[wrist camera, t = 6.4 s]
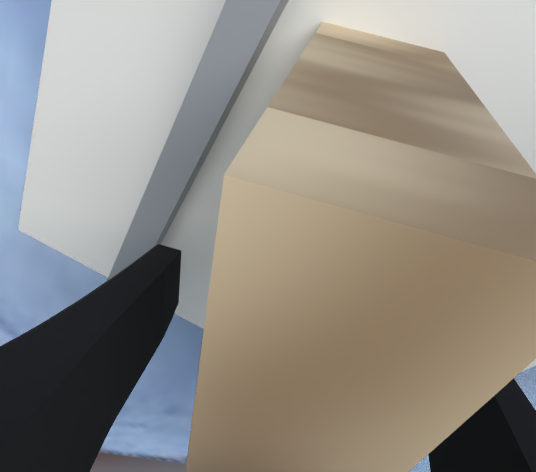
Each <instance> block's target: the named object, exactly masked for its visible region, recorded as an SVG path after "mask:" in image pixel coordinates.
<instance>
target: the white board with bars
mask: <svg viewBox="0 0 536 472" xmlns="http://www.w3.org/2000/svg"><path fill="white" fill-rule="evenodd" d="M322 22H326V23H330V24H334V25H338V26H342V27H346V28H350V29H354V30H358V31H362V32H366V33H370V34H374V35H378V36H382V37H386V38H390V39H393V40H397V41H401V42H405V43H409V44H413V45H417V46H421V47H425V48H429V49H433V50H437V51H441V52H444V53H445V54H446V55H447V57H448V58H449V59H450V61H451V62H452V63H453V65H454V66H455V67H456V69H457V70H458V71H459V73H460V74H461V75H462V77H463V78H464V79H465V80H466V82H467V83H468V84H469V86H470V87H471V88H472V90H473V91H474V92H475V94H476V95H477V96H478V98H479V99H480V100H481V102H482V103H483V104H484V106H485V107H486V108H487V110H488V111H489V112H490V114H491V115H492V116H493V118H494V119H495V120H496V122H497V123H498V124H499V126H500V127H501V128H502V130H503V131H504V132H505V134H506V135H507V136H508V138H509V139H510V140H511V142H512V143H513V144H514V146H515V147H516V148H517V149H518V151H519V152H520V153H521V155H522V156H523V157H524V159H525V160H526V161H527V163H528V164H529V165H530V167H531V168H532V169H533V171H534V172H535V173H536V0H52V2H51V9H50V16H49V23H48V30H47V36H46V43H45V50H44V57H43V63H42V70H41V77H40V84H39V91H38V97H37V104H36V111H35V118H34V124H33V131H32V138H31V145H30V152H29V158H28V165H27V172H26V179H25V185H24V192H23V199H22V206H21V212H20V219H19V226H18V230H20V231H22V232H23V233H25V234H27V235H29V236H31V237H33V238H35V239H36V240H38V241H40V242H42V243H44V244H46V245H48V246H49V247H51V248H53V249H55V250H57V251H59V252H61V253H63V254H64V255H66V256H68V257H70V258H72V259H74V260H76V261H77V262H79V263H81V264H83V265H85V266H87V267H89V268H90V269H92V270H94V271H96V272H98V273H100V274H102V275H103V276H105V277H107V278H108V279H107V281H108V280H109V279H111V278H112V277H114V276H115V275H116V274H118V273H119V272H121V271H122V270H123V269H125V268H126V267H128V266H129V265H130V264H132V263H133V262H134V261H136V260H137V259H138V258H140V257H141V256H142V255H144V254H145V253H146V252H148V251H149V250H150V249H152V248H153V247H154V246H156V245H158V244H160V245H164V246H167V247H171V248H174V249H178V250H181V269H180V286H179V303H178V306H177V308H176V310H175V313H174V314H176V315H178V316H180V317H181V318H183V319H185V320H187V321H189V322H191V323H193V324H194V325H196V326H198V327H200V328H202V329H204V324H205V316H206V309H207V301H208V293H209V286H210V278H211V270H212V263H213V255H214V247H215V239H216V232H217V224H218V216H219V209H220V201H221V193H222V185H223V178H224V174H225V172H226V171H227V169H228V168H229V166H230V165H231V163H232V161H233V160H234V158H235V157H236V155H237V154H238V152H239V150H240V149H241V147H242V146H243V144H244V143H245V141H246V140H247V138H248V136H249V135H250V133H251V132H252V130H253V129H254V127H255V126H256V124H257V122H258V121H259V119H260V118H261V116H262V115H263V113H264V112H265V110H266V108H267V107H268V105H269V104H270V102H271V101H272V99H273V97H274V96H275V94H276V93H277V91H278V90H279V88H280V87H281V85H282V83H283V82H284V80H285V79H286V77H287V76H288V74H289V73H290V71H291V69H292V68H293V66H294V65H295V63H296V62H297V60H298V59H299V57H300V55H301V54H302V52H303V51H304V49H305V48H306V46H307V44H308V43H309V41H310V40H311V38H312V37H313V35H314V34H315V32H316V30H317V29H318V27H319V26H320V24H321V23H322ZM107 281H106V282H107ZM534 366H536V359H535V360H534V361H533V362H531V363H530V364H529V365H528V366H527V367H526V368H525V369H524V370H522V371H521V372H523V371H525V370H527V369H530V368H532V367H534ZM521 372H520V373H521Z"/></svg>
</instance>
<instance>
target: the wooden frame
mask: <svg viewBox="0 0 536 472" xmlns="http://www.w3.org/2000/svg"><path fill="white" fill-rule="evenodd" d="M535 359H536V173H535V172H534V171H533V169H532V168H531V167H530V165H529V164H528V163H527V161H526V160H525V159H524V157H523V156H522V155H521V153H520V152H519V151H518V149H517V148H516V147H515V146H514V144H513V143H512V142H511V140H510V139H509V138H508V136H507V135H506V134H505V132H504V131H503V130H502V128H501V127H500V126H499V124H498V123H497V122H496V120H495V119H494V118H493V116H492V115H491V114H490V112H489V111H488V110H487V108H486V107H485V106H484V104H483V103H482V102H481V100H480V99H479V98H478V96H477V95H476V94H475V92H474V91H473V90H472V88H471V87H470V86H469V84H468V83H467V82H466V80H465V79H464V78H463V77H462V75H461V74H460V73H459V71H458V70H457V69H456V67H455V66H454V65H453V63H452V62H451V61H450V59H449V58H448V57H447V55H446V54H445V53H444V52H441V51H437V50H433V49H429V48H425V47H421V46H417V45H413V44H409V43H405V42H401V41H397V40H393V39H390V38H386V37H382V36H378V35H374V34H370V33H366V32H362V31H358V30H354V29H350V28H346V27H342V26H338V25H334V24H330V23H326V22H322V23H321V24H320V26H319V27H318V29H317V30H316V32H315V34H314V35H313V37H312V38H311V40H310V41H309V43H308V44H307V46H306V48H305V49H304V51H303V52H302V54H301V55H300V57H299V59H298V60H297V62H296V63H295V65H294V66H293V68H292V69H291V71H290V73H289V74H288V76H287V77H286V79H285V80H284V82H283V83H282V85H281V87H280V88H279V90H278V91H277V93H276V94H275V96H274V97H273V99H272V101H271V102H270V104H269V105H268V107H267V108H266V110H265V112H264V113H263V115H262V116H261V118H260V119H259V121H258V122H257V124H256V126H255V127H254V129H253V130H252V132H251V133H250V135H249V136H248V138H247V140H246V141H245V143H244V144H243V146H242V147H241V149H240V150H239V152H238V154H237V155H236V157H235V158H234V160H233V161H232V163H231V165H230V166H229V168H228V169H227V171H226V172H225V174H224V178H223V185H222V193H221V201H220V209H219V216H218V224H217V232H216V239H215V247H214V255H213V263H212V270H211V278H210V286H209V293H208V301H207V309H206V316H205V324H204V332H203V340H202V347H201V355H200V363H199V370H198V378H197V386H196V394H195V401H194V409H193V417H192V424H191V432H190V440H189V448H188V455H187V463H186V472H409V471H410V470H411V469H412V468H414V467H415V466H416V465H417V464H418V463H419V462H420V461H421V460H423V459H424V458H425V457H426V456H427V455H428V454H429V453H430V452H432V451H433V450H434V449H435V448H436V447H437V446H438V445H439V444H440V443H442V442H443V441H444V440H445V439H446V438H447V437H448V436H449V435H451V434H452V433H453V432H454V431H455V430H456V429H457V428H458V427H460V426H461V425H462V424H463V423H464V422H465V421H466V420H467V419H469V418H470V417H471V416H472V415H473V414H474V413H475V412H476V411H478V410H479V409H480V408H481V407H482V406H483V405H484V404H485V403H487V402H488V401H489V400H490V399H491V398H492V397H493V396H494V395H495V394H497V393H498V392H499V391H500V390H501V389H502V388H503V387H504V386H506V385H507V384H508V383H509V382H510V381H511V380H512V379H513V378H515V377H516V376H517V375H518V374H519V373H520V372H521V371H522V370H524V369H525V368H526V367H527V366H528V365H529V364H530V363H531V362H533V361H534V360H535Z"/></svg>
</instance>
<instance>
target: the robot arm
mask: <svg viewBox="0 0 536 472" xmlns="http://www.w3.org/2000/svg"><path fill="white" fill-rule="evenodd" d="M180 269H181V250H178V249H174V248H171V247H167V246H164V245H160V244H158V245H156V246H154V247H153V248H152V249H150V250H149V251H148V252H146V253H145V254H144V255H142V256H141V257H140V258H138V259H137V260H136V261H134V262H133V263H132V264H130V265H129V266H128V267H126V268H125V269H123V270H122V271H121V272H119V273H118V274H116V275H115V276H114V277H112V278H111V279H109V280H108V281H107V282H105V283H104V284H102V285H101V286H99V287H98V288H96V289H95V290H93V291H92V292H90V293H89V294H88V295H86V296H85V297H83V298H82V299H80V300H79V301H77V302H75V303H74V304H72V305H71V306H69V307H67V308H66V309H64V310H63V311H61V312H59V313H58V314H56V315H54V316H53V317H51V318H50V319H48V320H46V321H45V322H43V323H41V324H40V325H38V326H36V327H35V328H33V329H31V330H29V331H28V332H26V333H24V334H22V335H20V336H19V337H17V338H15V339H13V340H11V341H9V342H8V343H6V344H4V345H2V346H0V472H89V471H90V469H91V467H92V465H93V463H94V461H95V459H96V457H97V455H98V453H99V451H100V448H101V446H102V444H103V442H104V440H105V438H106V436H107V434H108V432H109V430H110V428H111V426H112V425H113V423H114V421H115V419H116V417H117V415H118V414H119V412H120V410H121V409H122V407H123V405H124V404H125V402H126V400H127V398H128V397H129V395H130V393H131V392H132V390H133V388H134V387H135V385H136V383H137V382H138V380H139V378H140V377H141V375H142V373H143V371H144V370H145V368H146V366H147V365H148V363H149V361H150V360H151V358H152V356H153V354H154V353H155V351H156V349H157V348H158V346H159V344H160V342H161V341H162V339H163V337H164V335H165V333H166V330H167V328H168V326H169V324H170V322H171V319H172V317H173V315H174V313H175V310H176V308H177V306H178V303H179V286H180ZM429 462H430V469H431V472H536V410H535V409H534V408H533V406H532V405H531V403H530V402H529V400H528V399H527V397H526V396H525V394H524V393H523V391H522V390H521V388H520V387H519V385H518V384H517V383H516V381H515V380H514V378H513V379H512V380H511V381H510V382H509V383H508V384H507V385H506V386H504V387H503V388H502V389H501V390H500V391H499V392H498V393H497V394H495V395H494V396H493V397H492V398H491V399H490V400H489V401H488V402H487V403H485V404H484V405H483V406H482V407H481V408H480V409H479V410H478V411H476V412H475V413H474V414H473V415H472V416H471V417H470V418H469V419H467V420H466V421H465V422H464V423H463V424H462V425H461V426H460V427H458V428H457V429H456V430H455V431H454V432H453V433H452V434H451V435H449V436H448V437H447V438H446V439H445V440H444V441H443V442H442V443H440V444H439V445H438V446H437V447H436V448H435V449H434V450H433V451H432V452H430V453H429Z"/></svg>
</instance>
